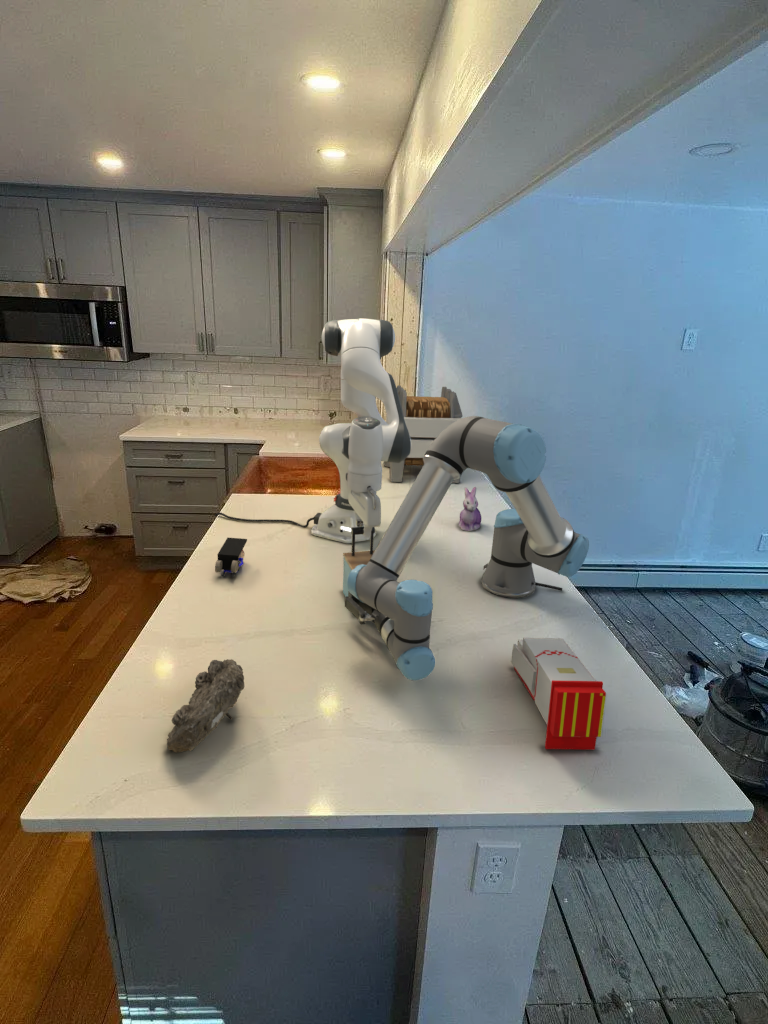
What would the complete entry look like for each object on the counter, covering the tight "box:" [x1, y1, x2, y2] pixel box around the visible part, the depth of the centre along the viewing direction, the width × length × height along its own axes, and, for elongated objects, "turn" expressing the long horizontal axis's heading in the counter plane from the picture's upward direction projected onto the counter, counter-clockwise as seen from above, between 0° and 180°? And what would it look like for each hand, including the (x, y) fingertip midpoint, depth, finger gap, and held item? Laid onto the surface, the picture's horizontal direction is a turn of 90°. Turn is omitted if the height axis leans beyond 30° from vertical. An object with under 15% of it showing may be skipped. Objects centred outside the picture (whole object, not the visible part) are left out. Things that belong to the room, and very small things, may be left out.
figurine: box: [458, 486, 482, 532], centre depth 206 cm, size 9×10×15 cm
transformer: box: [383, 384, 463, 484], centre depth 268 cm, size 34×33×41 cm
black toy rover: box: [214, 537, 248, 578], centre depth 166 cm, size 7×8×15 cm
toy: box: [510, 637, 607, 751], centre depth 115 cm, size 12×13×30 cm
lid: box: [342, 527, 376, 570], centre depth 148 cm, size 14×10×9 cm
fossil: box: [166, 658, 245, 754], centre depth 106 cm, size 22×10×15 cm
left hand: (363, 530), depth 151 cm, fingers open, 6 cm apart
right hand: (369, 584), depth 148 cm, fingers closed on chest, 9 cm apart
